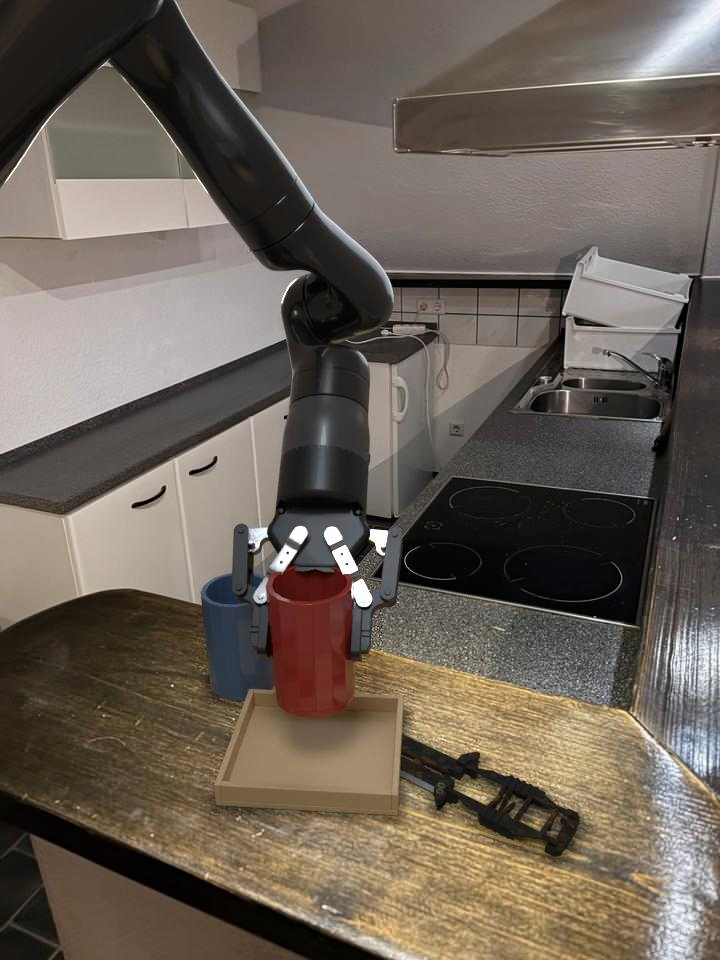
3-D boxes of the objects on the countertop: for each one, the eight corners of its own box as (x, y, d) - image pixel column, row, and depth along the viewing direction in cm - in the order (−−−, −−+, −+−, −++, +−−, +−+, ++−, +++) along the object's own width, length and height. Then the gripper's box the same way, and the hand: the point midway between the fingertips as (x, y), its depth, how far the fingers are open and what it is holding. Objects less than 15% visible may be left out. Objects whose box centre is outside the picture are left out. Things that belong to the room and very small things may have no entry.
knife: (290, 724, 68) (289, 712, 68) (339, 690, 73) (339, 678, 72) (545, 880, 52) (547, 865, 52) (587, 824, 57) (589, 809, 56)
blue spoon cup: (202, 699, 71) (192, 605, 67) (220, 659, 77) (211, 571, 73) (270, 702, 70) (264, 607, 67) (283, 661, 76) (278, 573, 73)
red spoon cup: (266, 716, 59) (258, 602, 55) (282, 666, 65) (275, 561, 61) (350, 720, 58) (347, 605, 54) (358, 669, 64) (356, 563, 60)
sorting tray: (215, 805, 59) (213, 785, 58) (250, 707, 70) (248, 688, 69) (397, 816, 57) (398, 795, 57) (403, 713, 69) (403, 695, 68)
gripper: (232, 440, 62) (204, 644, 55) (408, 442, 61) (402, 651, 54) (251, 478, 69) (228, 664, 62) (410, 480, 68) (405, 670, 61)
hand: (309, 657), depth 58 cm, fingers closed on red spoon cup, 6 cm apart
